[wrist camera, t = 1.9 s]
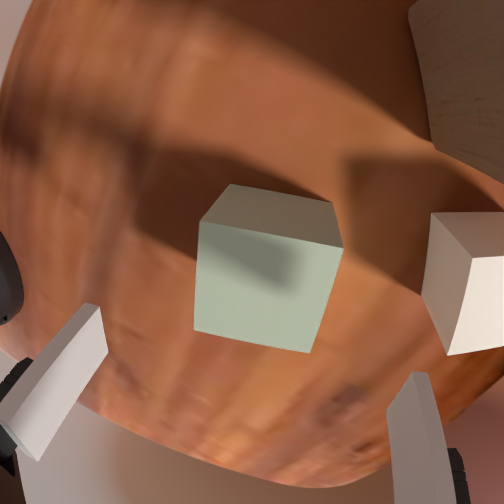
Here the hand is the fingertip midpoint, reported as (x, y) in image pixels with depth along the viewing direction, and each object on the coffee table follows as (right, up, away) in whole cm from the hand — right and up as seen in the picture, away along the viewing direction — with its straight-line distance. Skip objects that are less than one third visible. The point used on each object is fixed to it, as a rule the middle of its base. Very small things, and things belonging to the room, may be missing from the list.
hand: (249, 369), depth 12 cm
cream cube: (+17, +4, +9) cm, 19 cm away
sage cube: (+2, +6, +11) cm, 12 cm away
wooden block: (+15, +16, +3) cm, 23 cm away
